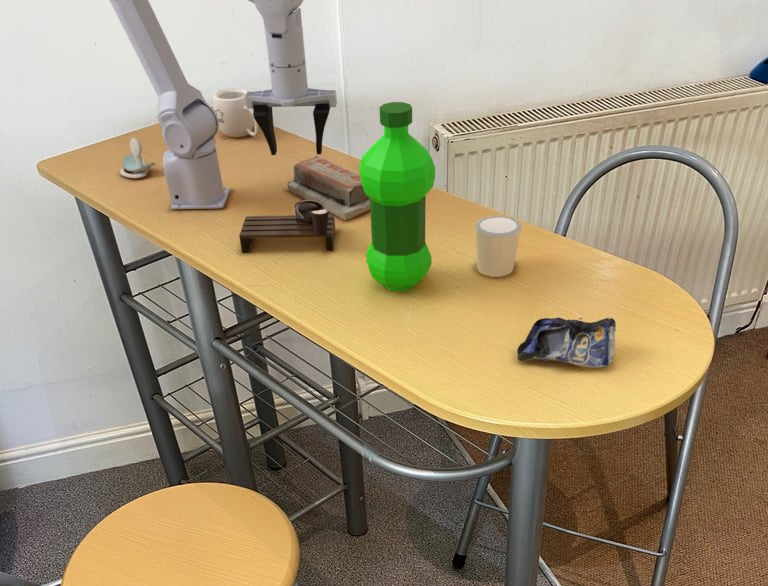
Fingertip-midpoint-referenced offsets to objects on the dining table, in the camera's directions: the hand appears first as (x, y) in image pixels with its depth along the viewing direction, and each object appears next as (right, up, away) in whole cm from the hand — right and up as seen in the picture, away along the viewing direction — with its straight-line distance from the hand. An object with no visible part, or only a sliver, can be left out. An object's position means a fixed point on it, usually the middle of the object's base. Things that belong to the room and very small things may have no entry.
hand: (296, 152), depth 128 cm
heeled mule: (+3, -13, -3) cm, 14 cm away
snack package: (+39, -40, -26) cm, 61 cm away
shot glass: (+32, -22, -9) cm, 40 cm away
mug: (-15, +20, +34) cm, 42 cm away
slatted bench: (-1, -15, -1) cm, 15 cm away
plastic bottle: (+17, -25, -11) cm, 33 cm away
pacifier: (-34, +6, +22) cm, 41 cm away
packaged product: (+6, -3, +11) cm, 13 cm away
